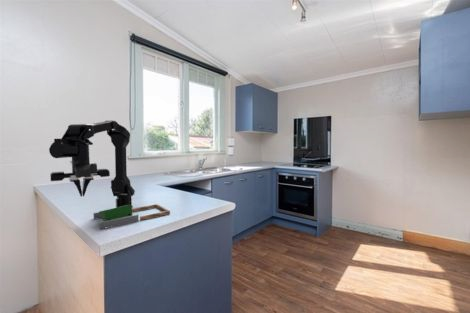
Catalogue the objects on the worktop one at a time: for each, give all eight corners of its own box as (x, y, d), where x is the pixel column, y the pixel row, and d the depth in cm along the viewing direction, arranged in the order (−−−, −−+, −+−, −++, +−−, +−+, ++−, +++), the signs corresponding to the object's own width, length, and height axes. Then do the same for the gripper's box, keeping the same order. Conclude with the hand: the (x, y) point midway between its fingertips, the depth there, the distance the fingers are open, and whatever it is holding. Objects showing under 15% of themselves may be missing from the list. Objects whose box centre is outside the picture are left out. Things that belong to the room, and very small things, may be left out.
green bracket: (122, 226, 100) (127, 206, 104) (130, 226, 97) (134, 205, 100) (94, 223, 92) (100, 201, 95) (101, 222, 88) (107, 199, 92)
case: (128, 212, 107) (127, 207, 107) (138, 220, 95) (138, 214, 95) (93, 218, 98) (93, 213, 98) (100, 229, 86) (100, 222, 86)
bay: (157, 206, 116) (157, 204, 116) (169, 213, 104) (169, 210, 104) (130, 211, 107) (130, 208, 107) (140, 220, 95) (140, 216, 95)
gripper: (49, 158, 75) (52, 204, 76) (112, 156, 87) (113, 196, 88) (49, 157, 84) (51, 198, 85) (106, 155, 96) (107, 191, 97)
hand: (82, 196), depth 88 cm, fingers closed
